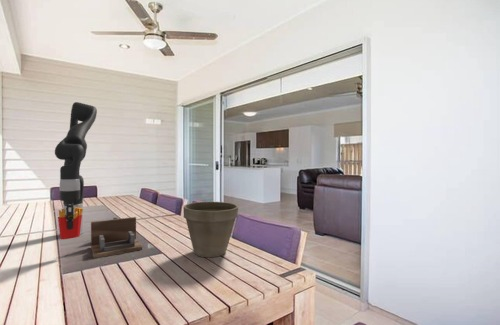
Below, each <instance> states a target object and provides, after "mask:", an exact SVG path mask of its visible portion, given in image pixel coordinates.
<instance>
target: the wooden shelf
mask: <svg viewBox="0 0 500 325" xmlns="http://www.w3.org/2000/svg"><path fill="white" fill-rule="evenodd" d="M90 248H91V249H90V250H91V253H92V258H93V259H96V258H97V259H98V258H104V257H107V256H108V257H109V256H113V255H114V256H115V255H119V254H126V253H131V252H136V251H142V250H143V245H142V244H141V243H140V241H139V240H138V239H137V217H136V216H132V217H131V216H130V217H122V218H118V219H113V218H112V219H105V220H96V221H95V220H94V221H90Z"/></svg>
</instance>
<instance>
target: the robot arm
mask: <svg viewBox="0 0 500 325" xmlns="http://www.w3.org/2000/svg"><path fill="white" fill-rule="evenodd" d="M70 110H71V111H70V118H69V119H70V120H69V130H68V132H67V133H66V136H65V137H63V139H62V140H61V141H59V142H58V144H57V145H56V147H55V149H54V155H55V157H56V158H57V159H58V160H61V161H62V160H64V162H63V163H64V164H63V165H62V166H61V167H60V169H59V173H60V174H59V201H61V202H63V206H62V207H63V208H62V209H65V215H66V217H67V218H66V220H67V229H68V230H69V229H73V220H74V218H73V215H74V214H75V207H78V208H83V209H84V205H83V204H84V203H83V202H84V187H85V184H84V178H83V176H82V175H80V170H81V169H80V167H81V164H82V161H83V160H84V159H85V158H86V153H87V149H88V143H87V142H86V139H85V138H86V135H87V134H88V132H89V131H90V129H91V128H92V126H93V124H94V123H95V121H96V118H97V113H98V111H97V108H96V107H95V106H94V105H91V104H87V103H82V102H77V101H75V102H73V103H72V106H71V109H70ZM68 215H72V217H68ZM81 234H84V210H83V211H82V220H81V229H80V235H81Z"/></svg>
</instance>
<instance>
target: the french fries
mask: <svg viewBox="0 0 500 325" xmlns="http://www.w3.org/2000/svg"><path fill="white" fill-rule="evenodd" d="M82 211H83V212H84V207H83V208H78V207H75V214H74V215H73V218H74V220H73V229H69V230H68V229H67V220H66V218H67V217H66V215H65V209H63V208H61V209H58V216H57V219H58V220H57V221H58V229H59V238H60V239H61V240H69V239H75V238H79V237H80V236H81V234H80V229H81V220H82ZM68 217H72V215H68Z"/></svg>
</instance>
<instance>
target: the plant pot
mask: <svg viewBox="0 0 500 325" xmlns="http://www.w3.org/2000/svg"><path fill="white" fill-rule="evenodd" d="M182 210H183V217H184V219H185V221H186V226H187V228H188V229H187V230H188V234H189V237H190V242H191V246H192V249H193V252H194V254H195V255H196V256H198V257H200V258H201V257H202V258H217V257H220V256H223V255H225V254H226V252H227V249H228V246H229V242H230V240H231V235H232V232H233V229H234V225H235V221H236V219H237V218H238V214H239V213H238V212H239V205H237V204H236V203H232V202H224V201H198V202H190V203H187V204H184V205H183V209H182Z"/></svg>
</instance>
